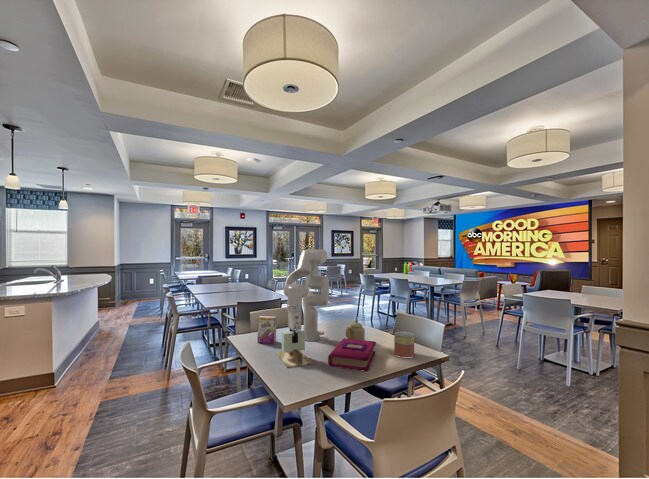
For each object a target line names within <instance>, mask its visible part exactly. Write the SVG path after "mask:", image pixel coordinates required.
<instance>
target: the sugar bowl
mask: <svg viewBox="0 0 649 479" xmlns="http://www.w3.org/2000/svg"><path fill="white" fill-rule="evenodd" d="M358 320H359V319H357V318H355V319H354V322H352V323H351V324H349V327H347V328H346V330H345V337H346V339H354V340H364V341H365V336H366V333H365V330H366V329H365V327H363V326H364V325H363V324H361V323H359V322H358Z"/></svg>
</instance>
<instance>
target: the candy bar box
mask: <svg viewBox="0 0 649 479" xmlns="http://www.w3.org/2000/svg"><path fill="white" fill-rule="evenodd" d="M259 343H260V344H276V343H277V316H270V315H268V316H267V315H260V316H258V317H257V344H259Z"/></svg>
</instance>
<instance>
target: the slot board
mask: <svg viewBox="0 0 649 479" xmlns="http://www.w3.org/2000/svg"><path fill="white" fill-rule="evenodd" d="M275 355H277V357H278V358H279V360H280V361H281V362H282V363H283V365H285V367H286V369H288V368H294V367H301V366H308V365H313V363H314V362H313V361H312V360H311V359H310V358H309V357H308V356H306V354H305V353H303V351H302V350H300V351H299V350H298V349H297V350H293V352H286V353H284V352H283V351H282V350H281V351H276V352H275Z"/></svg>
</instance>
